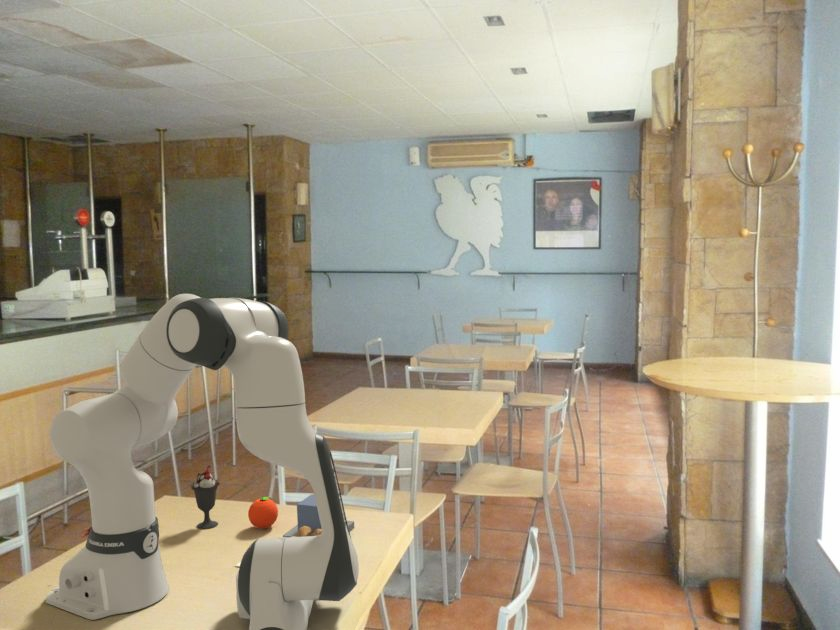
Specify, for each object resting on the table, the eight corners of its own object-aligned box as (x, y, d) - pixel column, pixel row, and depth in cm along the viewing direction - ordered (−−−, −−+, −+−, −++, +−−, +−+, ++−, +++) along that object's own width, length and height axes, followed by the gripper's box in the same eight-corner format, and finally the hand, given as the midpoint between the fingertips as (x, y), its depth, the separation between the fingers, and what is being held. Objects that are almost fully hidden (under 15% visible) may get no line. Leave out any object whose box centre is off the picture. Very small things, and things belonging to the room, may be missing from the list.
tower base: (282, 541, 159) (281, 507, 158) (308, 522, 170) (307, 490, 170) (331, 547, 155) (329, 512, 154) (354, 527, 166) (353, 494, 166)
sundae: (217, 530, 167) (214, 467, 166) (189, 530, 167) (185, 468, 166) (225, 519, 174) (222, 459, 173) (198, 520, 174) (194, 460, 173)
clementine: (260, 519, 173) (258, 491, 173) (285, 521, 172) (284, 492, 171) (243, 531, 166) (241, 502, 165) (270, 534, 164) (268, 504, 163)
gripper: (347, 577, 122) (352, 545, 136) (227, 582, 121) (244, 549, 135) (349, 612, 123) (353, 576, 136) (229, 618, 122) (246, 581, 136)
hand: (298, 563), depth 136 cm, fingers open, 8 cm apart
